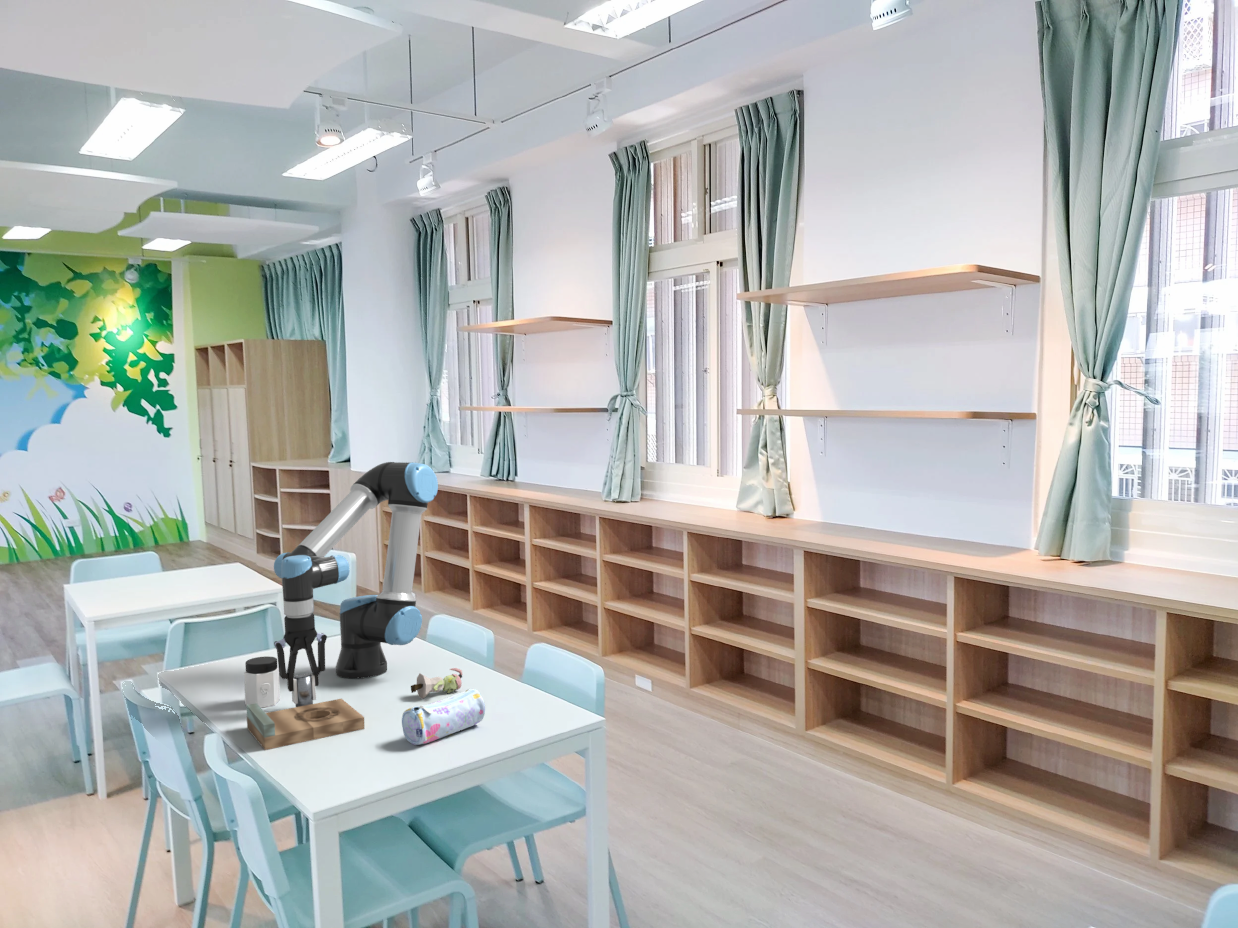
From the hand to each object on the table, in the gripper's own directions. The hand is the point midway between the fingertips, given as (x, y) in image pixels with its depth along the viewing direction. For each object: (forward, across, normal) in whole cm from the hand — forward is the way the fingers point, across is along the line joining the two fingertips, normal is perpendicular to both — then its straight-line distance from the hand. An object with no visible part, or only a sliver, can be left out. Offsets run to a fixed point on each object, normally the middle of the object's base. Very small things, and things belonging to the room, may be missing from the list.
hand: (304, 700), depth 244 cm
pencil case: (+3, -23, +38) cm, 45 cm away
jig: (+3, +4, +14) cm, 15 cm away
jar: (+3, +8, -13) cm, 15 cm away
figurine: (+4, -34, +9) cm, 36 cm away
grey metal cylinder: (+1, 0, 0) cm, 1 cm away
